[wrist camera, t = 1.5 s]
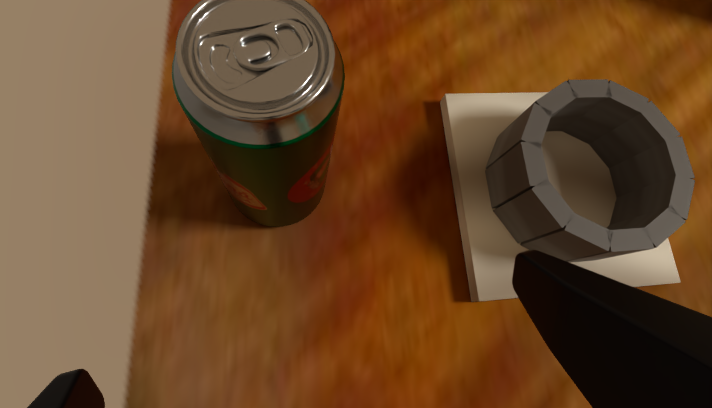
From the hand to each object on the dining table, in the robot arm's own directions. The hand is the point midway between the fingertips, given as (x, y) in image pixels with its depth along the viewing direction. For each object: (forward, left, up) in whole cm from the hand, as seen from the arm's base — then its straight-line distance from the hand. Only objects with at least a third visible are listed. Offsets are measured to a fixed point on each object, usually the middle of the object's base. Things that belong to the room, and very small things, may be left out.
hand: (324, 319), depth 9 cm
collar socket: (+6, -15, -13) cm, 21 cm away
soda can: (+7, +1, -13) cm, 15 cm away
